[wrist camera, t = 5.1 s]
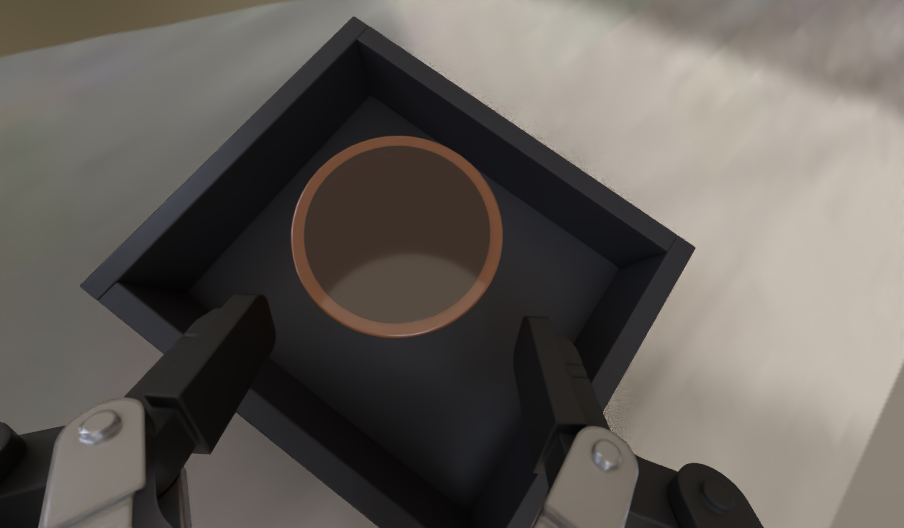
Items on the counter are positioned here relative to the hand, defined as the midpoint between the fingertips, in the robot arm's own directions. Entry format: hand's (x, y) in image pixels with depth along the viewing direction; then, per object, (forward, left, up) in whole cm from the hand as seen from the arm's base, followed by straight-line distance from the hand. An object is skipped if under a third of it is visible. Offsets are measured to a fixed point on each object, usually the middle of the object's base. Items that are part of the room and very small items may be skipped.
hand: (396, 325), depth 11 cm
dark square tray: (-1, +2, -8) cm, 9 cm away
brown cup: (-1, +2, -7) cm, 8 cm away
